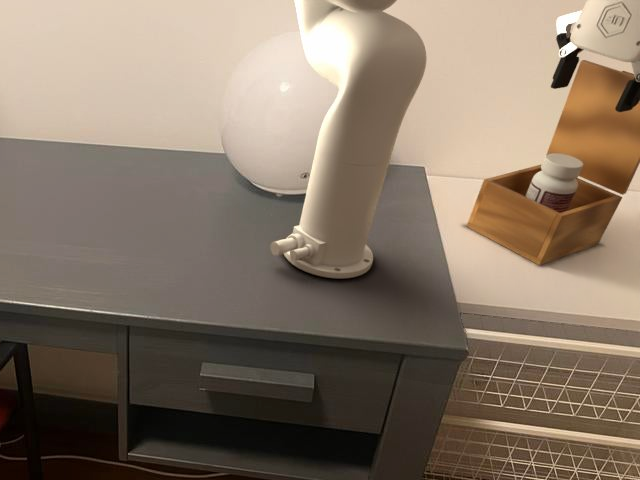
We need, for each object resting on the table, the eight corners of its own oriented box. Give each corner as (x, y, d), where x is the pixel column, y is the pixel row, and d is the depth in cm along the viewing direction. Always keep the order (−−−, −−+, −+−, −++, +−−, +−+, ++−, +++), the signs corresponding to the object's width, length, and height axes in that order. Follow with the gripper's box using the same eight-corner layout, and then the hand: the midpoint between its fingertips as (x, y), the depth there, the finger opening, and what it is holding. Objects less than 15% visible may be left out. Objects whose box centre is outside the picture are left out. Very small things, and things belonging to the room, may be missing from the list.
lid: (670, 89, 98) (695, 79, 100) (580, 60, 106) (605, 52, 108) (622, 195, 108) (645, 184, 110) (543, 161, 117) (566, 152, 118)
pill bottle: (563, 234, 114) (596, 164, 106) (540, 243, 111) (572, 172, 104) (527, 218, 117) (557, 148, 110) (504, 226, 115) (533, 156, 107)
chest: (539, 265, 107) (562, 216, 102) (466, 226, 116) (483, 179, 111) (598, 244, 113) (622, 197, 108) (524, 208, 122) (544, 163, 117)
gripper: (573, -57, 94) (519, 81, 105) (711, -28, 83) (634, 123, 94) (607, -57, 98) (551, 77, 108) (744, -30, 86) (666, 116, 97)
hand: (589, 98), depth 101 cm, fingers open, 9 cm apart
